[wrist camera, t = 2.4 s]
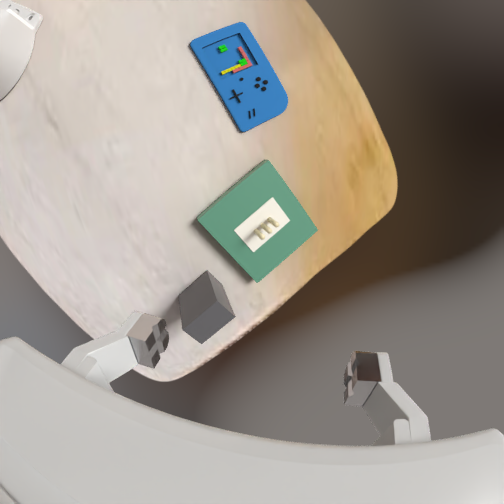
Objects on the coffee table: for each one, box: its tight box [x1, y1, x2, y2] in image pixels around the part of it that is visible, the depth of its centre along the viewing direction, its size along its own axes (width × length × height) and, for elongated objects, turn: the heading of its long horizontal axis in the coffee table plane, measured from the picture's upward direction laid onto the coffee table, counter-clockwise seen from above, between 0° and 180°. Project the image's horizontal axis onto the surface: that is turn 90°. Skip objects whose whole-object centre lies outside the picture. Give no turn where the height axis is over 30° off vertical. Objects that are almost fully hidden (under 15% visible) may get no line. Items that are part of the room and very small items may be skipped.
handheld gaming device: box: [190, 22, 288, 132], centre depth 30 cm, size 8×1×15 cm
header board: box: [197, 160, 318, 283], centre depth 37 cm, size 13×12×4 cm
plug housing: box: [179, 271, 235, 344], centre depth 36 cm, size 3×6×8 cm, turn 129°
